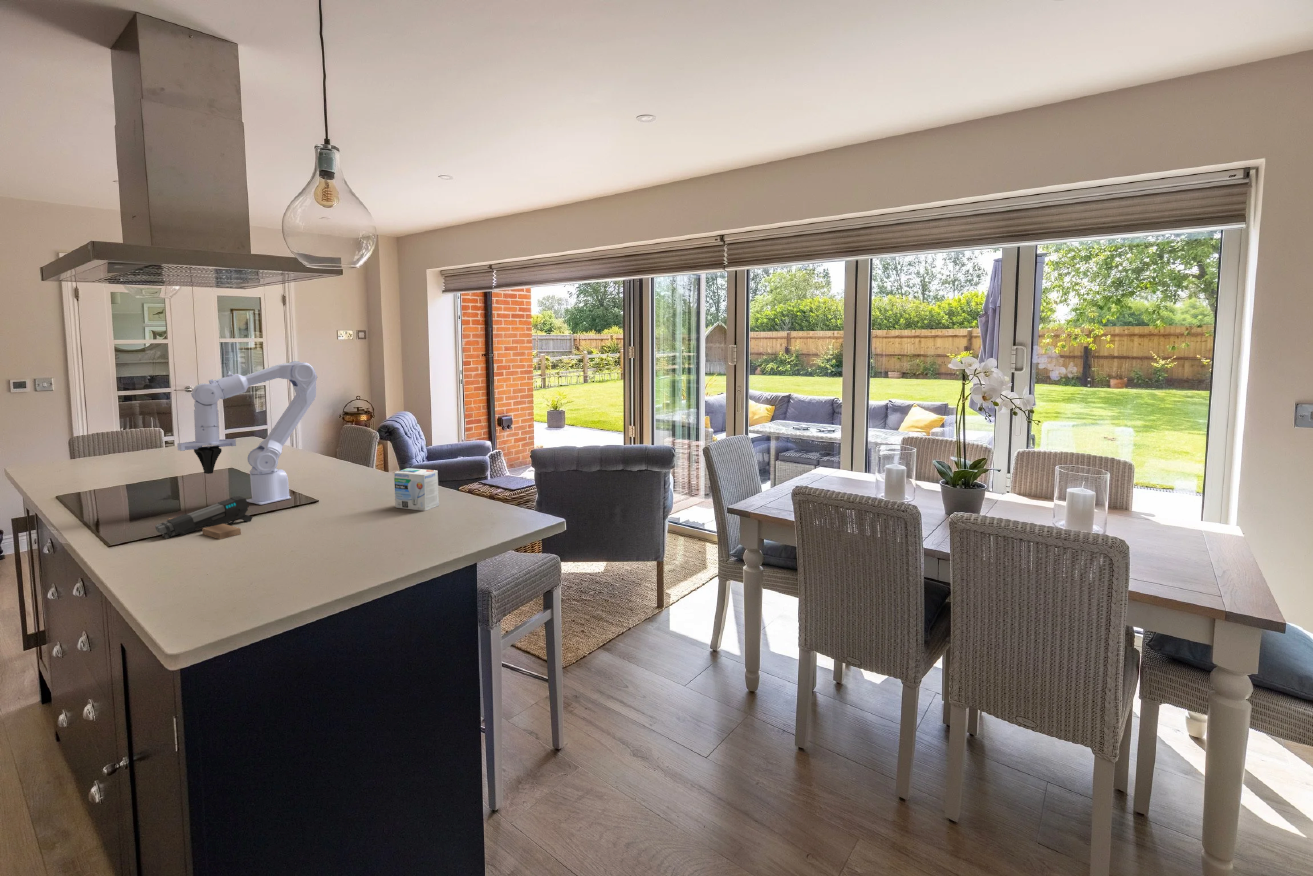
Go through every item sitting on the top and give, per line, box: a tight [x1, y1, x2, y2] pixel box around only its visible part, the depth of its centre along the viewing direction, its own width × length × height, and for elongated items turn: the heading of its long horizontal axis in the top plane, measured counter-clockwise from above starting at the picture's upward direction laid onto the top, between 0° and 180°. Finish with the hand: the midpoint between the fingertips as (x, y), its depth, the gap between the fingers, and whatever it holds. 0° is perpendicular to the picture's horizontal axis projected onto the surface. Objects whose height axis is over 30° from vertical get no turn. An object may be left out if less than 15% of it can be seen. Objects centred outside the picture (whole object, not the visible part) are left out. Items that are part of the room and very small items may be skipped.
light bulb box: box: [393, 467, 440, 512], centre depth 196 cm, size 11×7×11 cm, turn 73°
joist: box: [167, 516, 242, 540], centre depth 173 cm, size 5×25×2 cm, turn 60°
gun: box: [154, 495, 253, 539], centre depth 173 cm, size 4×20×10 cm, turn 142°
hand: (208, 473), depth 191 cm, fingers closed
